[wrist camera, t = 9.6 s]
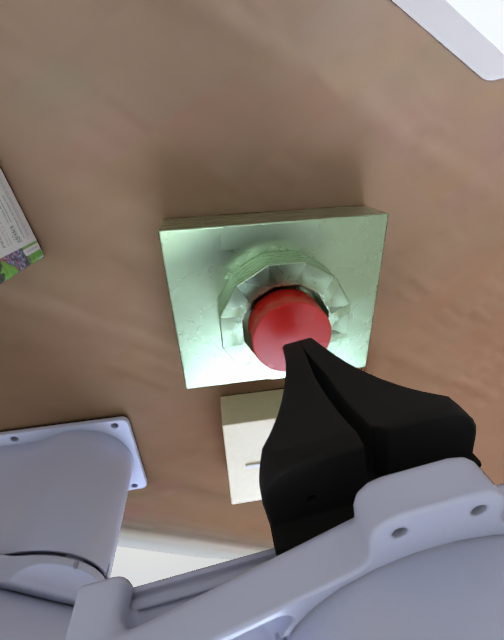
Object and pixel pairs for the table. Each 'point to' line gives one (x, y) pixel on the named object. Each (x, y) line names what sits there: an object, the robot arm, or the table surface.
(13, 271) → the syrup box
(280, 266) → the push button base
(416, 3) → the bracket
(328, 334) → the button
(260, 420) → the dial panel
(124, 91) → the table surface
